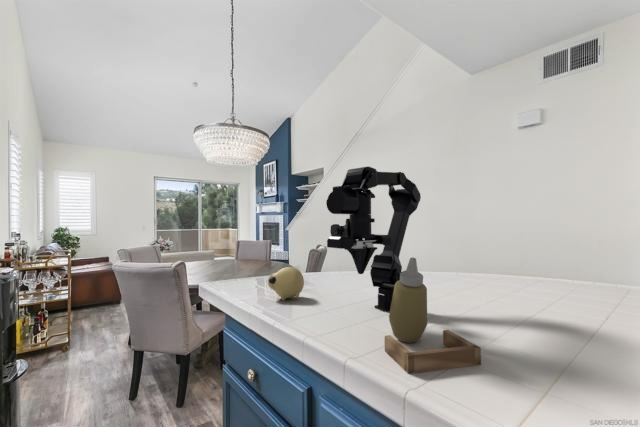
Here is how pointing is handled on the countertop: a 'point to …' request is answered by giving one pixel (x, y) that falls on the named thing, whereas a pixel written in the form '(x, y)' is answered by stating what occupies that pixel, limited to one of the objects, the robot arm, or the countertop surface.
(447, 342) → the bay
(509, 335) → the countertop surface
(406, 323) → the squeeze bottle
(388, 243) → the robot arm
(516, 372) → the countertop surface
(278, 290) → the beige round figure
